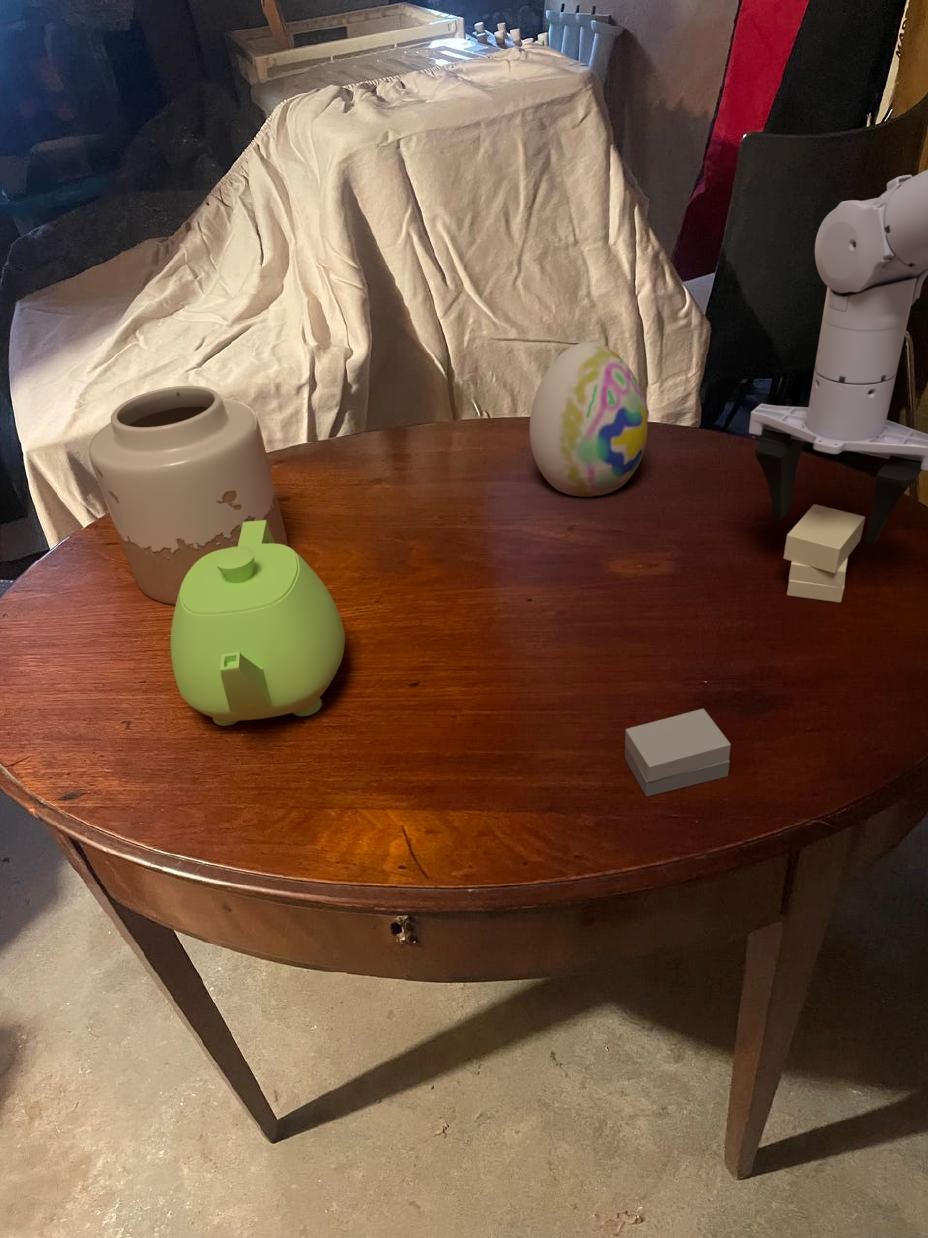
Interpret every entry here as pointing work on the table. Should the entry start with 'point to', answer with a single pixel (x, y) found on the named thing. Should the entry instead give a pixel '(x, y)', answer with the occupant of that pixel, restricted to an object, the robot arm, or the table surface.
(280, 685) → the teapot
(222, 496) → the vase
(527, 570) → the table surface
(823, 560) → the cream rectangular block
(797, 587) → the cream seamed block
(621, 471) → the decorative egg
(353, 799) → the table surface
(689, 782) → the grey box
